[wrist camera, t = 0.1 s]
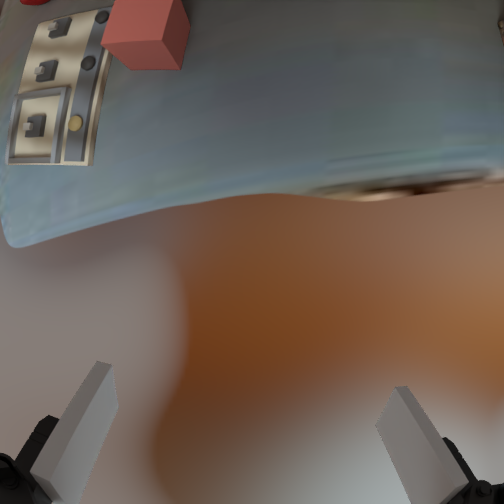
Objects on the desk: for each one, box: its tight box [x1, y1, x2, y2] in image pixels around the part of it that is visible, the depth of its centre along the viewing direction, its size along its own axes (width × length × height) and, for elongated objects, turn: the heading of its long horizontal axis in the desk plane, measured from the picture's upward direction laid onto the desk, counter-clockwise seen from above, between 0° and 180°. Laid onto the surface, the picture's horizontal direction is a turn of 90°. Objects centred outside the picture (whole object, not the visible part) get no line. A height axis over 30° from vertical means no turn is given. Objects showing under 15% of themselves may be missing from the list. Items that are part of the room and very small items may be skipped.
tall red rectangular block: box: [101, 0, 191, 70], centre depth 27 cm, size 7×7×10 cm
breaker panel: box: [5, 7, 113, 166], centre depth 30 cm, size 24×16×4 cm, turn 172°
